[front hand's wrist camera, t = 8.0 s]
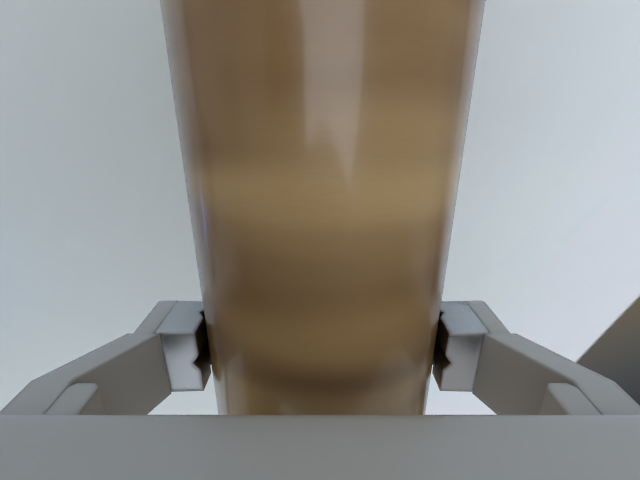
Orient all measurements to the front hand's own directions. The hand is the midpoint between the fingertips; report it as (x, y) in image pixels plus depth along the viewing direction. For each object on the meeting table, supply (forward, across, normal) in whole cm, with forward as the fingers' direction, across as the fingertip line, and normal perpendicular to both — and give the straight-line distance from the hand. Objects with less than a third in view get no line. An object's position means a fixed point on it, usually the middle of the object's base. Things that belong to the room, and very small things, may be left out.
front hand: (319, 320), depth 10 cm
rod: (+3, 0, -10) cm, 10 cm away
